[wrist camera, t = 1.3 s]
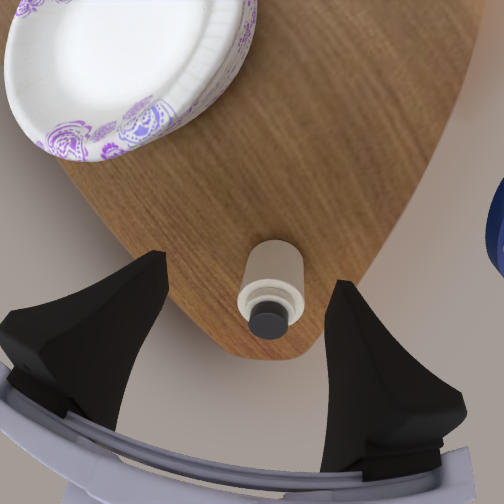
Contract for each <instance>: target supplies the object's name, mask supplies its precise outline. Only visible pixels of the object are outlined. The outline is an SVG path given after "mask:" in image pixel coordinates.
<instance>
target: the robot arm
mask: <svg viewBox="0 0 504 504" xmlns="http://www.w3.org/2000/svg"><path fill="white" fill-rule="evenodd" d="M502 249H503V252H504V245H503V248H502ZM168 291H169V284H168V274H167V262H166V252H162V251H156V250H152V251H150V252H148V253H146V254H145V255H143V256H141V257H140V258H138V259H136V260H135V261H133V262H131V263H130V264H128V265H127V266H125V267H123V268H122V269H120V270H118V271H117V272H115V273H113V274H112V275H110V276H108V277H106V278H105V279H103V280H101V281H99V282H97V283H95V284H94V285H91V286H89V287H87V288H85V289H83V290H81V291H79V292H77V293H74V294H71V295H68V296H66V297H63V298H61V299H58V300H55V301H52V302H49V303H45V304H41V305H38V306H34V307H29V308H24V309H18V310H13V311H10V312H9V314H8V315H7V316H6V317H5V319H4V320H3V321H2V322H1V324H0V346H1V348H2V349H3V350H4V352H5V353H6V355H7V356H8V358H9V359H10V360H11V362H12V363H13V365H14V368H13V369H12V371H11V370H10V369H9V368H8V367H7V366H6V365H5V364H3V363H2V362H0V430H1V431H2V432H3V433H4V434H6V435H7V436H8V437H9V438H10V439H11V440H13V441H14V442H15V443H16V444H17V445H19V446H20V447H21V448H23V449H24V450H25V451H26V452H28V453H29V454H30V455H32V456H33V457H34V458H36V459H37V460H38V461H40V462H41V463H43V464H44V465H45V466H47V467H48V468H50V469H51V470H53V471H54V472H56V473H57V474H59V475H61V476H62V477H64V478H65V479H67V480H69V481H68V484H67V487H66V489H65V492H64V495H63V497H62V500H61V503H60V504H466V503H468V502H471V501H473V500H475V498H476V494H475V484H474V477H473V471H472V463H471V458H470V453H469V447H463V448H459V449H456V450H452V451H448V452H446V453H443V454H441V455H440V449H439V448H441V447H443V445H444V443H443V437H444V436H446V435H447V434H448V433H450V432H451V431H452V430H454V429H455V428H456V427H458V426H459V425H460V424H461V423H462V422H463V421H464V419H465V418H466V416H467V410H466V406H465V403H464V400H463V396H462V393H461V392H459V391H458V390H456V389H455V388H453V387H451V386H450V385H448V384H447V383H445V382H443V381H442V380H441V379H439V378H438V377H437V376H435V375H434V374H432V373H431V372H430V371H429V370H428V369H426V368H425V367H424V366H423V365H421V364H420V363H419V362H418V361H417V360H416V359H415V358H414V357H413V356H411V355H410V354H409V353H408V352H407V351H406V350H405V349H404V348H403V347H402V346H401V345H400V344H399V342H398V341H397V340H396V339H395V338H394V337H393V336H392V335H391V334H390V332H389V331H388V330H387V329H386V327H385V326H384V325H383V324H382V323H381V321H380V320H379V319H378V317H377V316H376V315H375V313H374V312H373V311H372V309H371V308H370V307H369V305H368V304H367V302H366V301H365V300H364V299H363V297H362V296H361V294H360V293H359V291H358V290H357V288H356V287H355V286H354V284H353V283H352V282H351V281H345V280H338V279H337V282H336V285H335V288H334V291H333V294H332V297H331V300H330V302H329V305H328V308H327V311H326V313H325V327H324V335H325V336H324V337H325V347H326V357H327V367H328V378H329V403H328V418H327V430H326V437H325V445H324V452H323V458H322V463H321V468H320V473H308V472H286V471H274V470H264V469H255V468H247V467H240V466H234V465H228V464H223V463H218V462H212V461H208V460H203V459H199V458H194V457H190V456H186V455H183V454H179V453H175V452H171V451H168V450H165V449H162V448H158V447H155V446H152V445H149V444H146V443H143V442H140V441H137V440H134V439H132V438H129V437H127V436H124V435H121V434H119V433H116V432H115V429H116V424H117V419H118V415H119V410H120V406H121V403H122V399H123V395H124V392H125V388H126V385H127V382H128V379H129V376H130V373H131V370H132V367H133V365H134V362H135V359H136V357H137V354H138V352H139V350H140V348H141V346H142V344H143V342H144V340H145V338H146V337H147V335H148V333H149V331H150V329H151V327H152V326H153V324H154V322H155V320H156V318H157V316H158V315H159V312H160V311H161V309H162V306H163V304H164V301H165V299H166V296H167V294H168ZM104 448H105V449H104ZM106 449H107V450H106ZM108 450H109V451H108ZM110 451H111V452H110ZM112 452H114V453H116V454H119V455H121V456H124V457H126V458H129V459H131V460H134V461H137V462H140V463H143V464H145V465H148V466H151V467H154V468H157V469H160V470H163V471H167V472H170V473H174V474H178V475H181V476H185V477H189V478H193V479H197V480H202V481H206V482H211V483H216V484H221V485H227V486H233V487H239V488H246V489H255V490H264V491H277V492H294V493H286V494H284V496H283V498H281V499H271V498H263V497H256V496H250V495H243V494H237V493H232V492H227V491H222V490H216V489H212V488H208V487H203V486H199V485H195V484H191V483H186V482H183V481H179V480H176V479H172V478H168V477H165V476H162V475H158V474H155V473H151V472H148V471H145V470H143V469H140V468H137V467H134V466H132V465H129V464H126V463H124V462H123V461H121V460H120V459H119V457H118V456H117V455H115V454H114V453H112Z"/></svg>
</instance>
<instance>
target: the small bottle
mask: <svg viewBox="0 0 504 504" xmlns="http://www.w3.org/2000/svg"><path fill="white" fill-rule="evenodd" d="M237 303H238V308H239V311H240V312H241V314H242V315H243V317H244V318H245V319H246V320H248V322H249V323H248V326H249V329H250V331H251V332H252V333H253V334H254V335H255V336H257V337H259V338H262V339H267V340H273V339H277V338H280V337H282V336H283V335H284V334H285V333H286V332H287V330H288V326H289V325H291V324H293V323H294V322H296V321H297V320H298V319H299V318H300V316H301V315H302V313H303V311H304V267H303V258H302V255H301V254H300V252H299V251H298V250H297V249H296V248H295V247H294V246H293V245H291V244H290V243H287V242H285V241H281V240H268V241H265V242H262V243H260V244H258V245H257V246H256V247H254V248H253V250H252V251H251V252H250V255H249V257H248V261H247V265H246V269H245V272H244V276H243V280H242V284H241V288H240V291H239V295H238V300H237Z"/></svg>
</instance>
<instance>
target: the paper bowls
mask: <svg viewBox="0 0 504 504" xmlns="http://www.w3.org/2000/svg"><path fill="white" fill-rule="evenodd" d="M256 19H257V0H21V2H20V4H19V7H18V9H17V11H16V14H15V16H14V18H13V21H12V24H11V27H10V31H9V35H8V40H7V44H6V50H5V59H4V78H5V87H6V92H7V97H8V101H9V104H10V108H11V109H12V112H13V114H14V116H15V118H16V120H17V122H18V124H19V125H20V127H21V128H22V130H23V131H24V133H25V134H26V135H27V136H28V137H29V138H30V139H31V140H32V141H33V142H34V143H35V144H36V145H37V146H39V147H40V148H41V149H43V150H45V151H46V152H48V153H50V154H52V155H55V156H57V157H60V158H63V159H66V160H70V161H79V162H96V161H102V160H107V159H111V158H114V157H118V156H120V155H123V154H126V153H128V152H130V151H133V150H135V149H136V148H138V147H140V146H143V145H145V144H148V143H150V142H152V141H154V140H157V139H159V138H161V137H163V136H165V135H167V134H169V133H171V132H173V131H175V130H177V129H178V128H180V127H182V126H183V125H185V124H187V123H188V122H190V121H191V120H193V119H194V118H196V117H197V116H198V115H199V114H200V113H202V112H203V111H205V110H206V109H207V108H208V107H209V106H210V105H211V104H213V103H214V102H215V101H216V100H217V98H218V97H219V96H221V95H222V94H223V92H224V91H225V90H226V88H227V87H228V86H229V85H230V83H231V82H232V80H233V79H235V76H236V75H237V74H238V72H239V69H240V68H241V66H242V64H243V62H244V60H245V57H246V55H247V53H248V51H249V48H250V45H251V42H252V38H253V35H254V31H255V26H256Z"/></svg>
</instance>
